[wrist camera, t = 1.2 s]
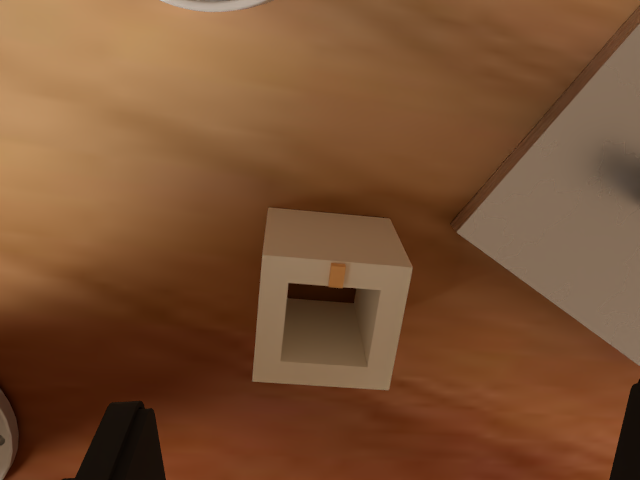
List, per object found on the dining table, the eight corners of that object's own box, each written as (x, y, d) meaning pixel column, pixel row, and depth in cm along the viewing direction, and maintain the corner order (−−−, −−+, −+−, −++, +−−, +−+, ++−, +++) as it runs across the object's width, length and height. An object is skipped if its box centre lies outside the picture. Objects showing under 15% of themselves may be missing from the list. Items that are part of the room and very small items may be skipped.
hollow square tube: (371, 323, 31) (389, 394, 26) (259, 314, 31) (251, 385, 25) (389, 218, 29) (414, 270, 23) (268, 207, 28) (262, 257, 23)
